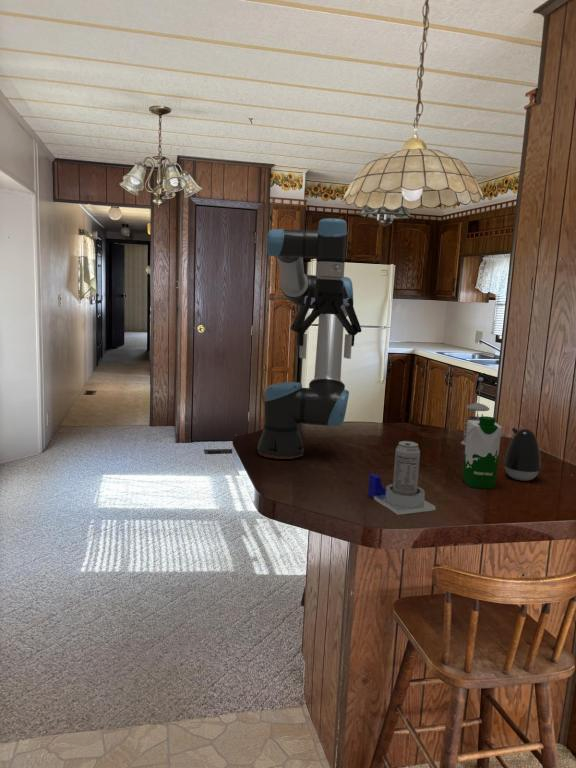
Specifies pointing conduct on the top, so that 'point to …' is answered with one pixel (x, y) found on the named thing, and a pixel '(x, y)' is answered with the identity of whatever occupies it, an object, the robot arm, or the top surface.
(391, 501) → the plate
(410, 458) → the energy drink can
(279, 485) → the top surface
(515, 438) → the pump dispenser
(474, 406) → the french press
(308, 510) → the top surface
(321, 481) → the top surface
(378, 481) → the blue u-shaped piece
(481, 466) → the milk carton
